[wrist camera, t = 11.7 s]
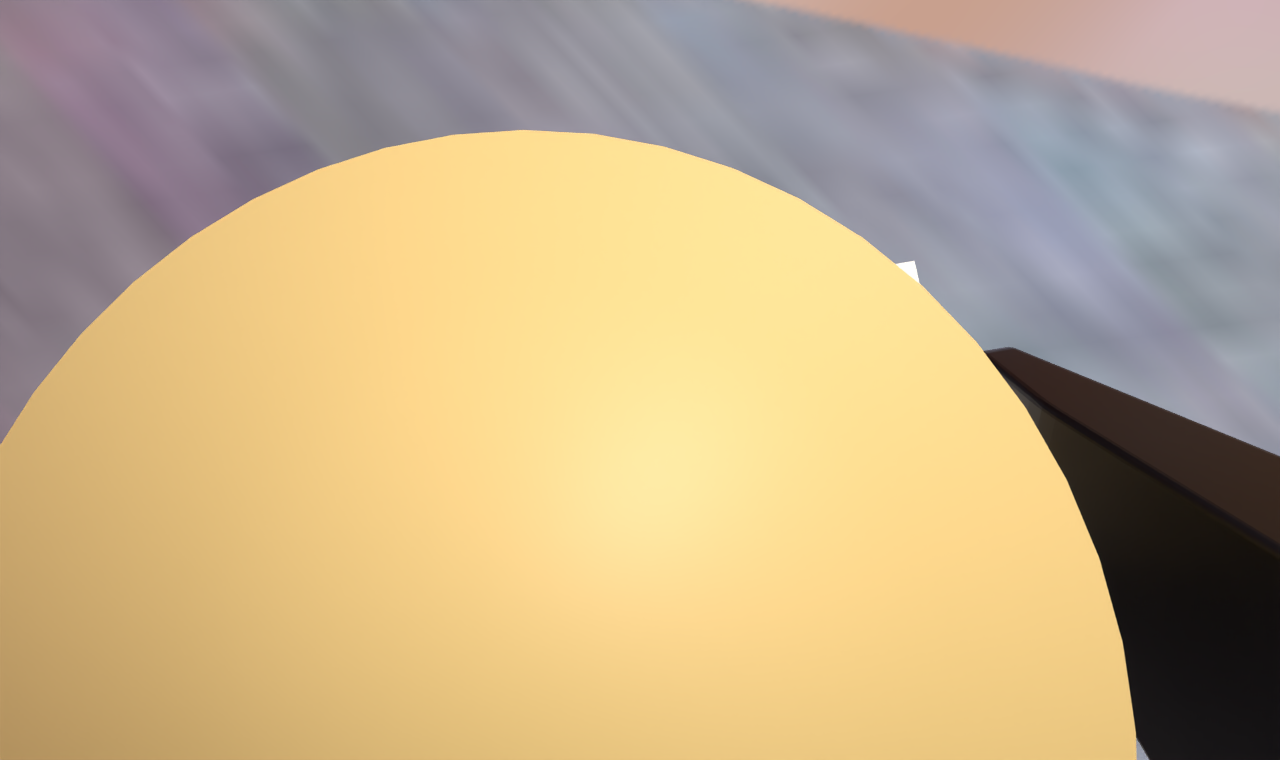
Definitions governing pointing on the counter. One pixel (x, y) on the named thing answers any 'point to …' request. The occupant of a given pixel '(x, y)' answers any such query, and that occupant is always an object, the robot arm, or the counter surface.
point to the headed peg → (541, 489)
